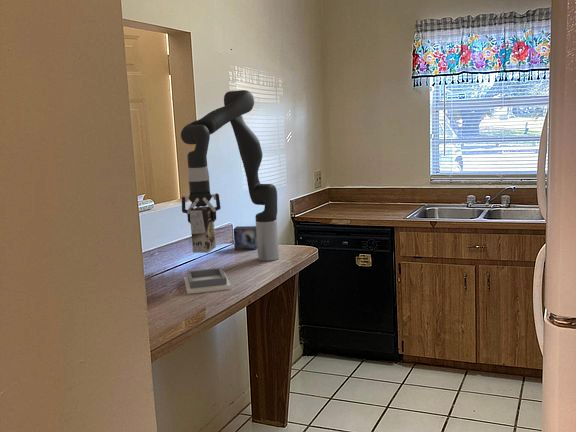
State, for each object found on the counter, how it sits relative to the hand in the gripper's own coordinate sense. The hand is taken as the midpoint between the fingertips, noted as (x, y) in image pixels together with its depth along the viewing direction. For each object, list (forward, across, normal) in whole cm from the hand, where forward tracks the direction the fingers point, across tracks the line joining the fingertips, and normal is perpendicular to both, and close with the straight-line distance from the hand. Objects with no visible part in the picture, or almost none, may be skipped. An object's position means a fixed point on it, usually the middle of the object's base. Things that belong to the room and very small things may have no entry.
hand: (202, 222), depth 225 cm
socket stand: (+24, 0, 0) cm, 24 cm away
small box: (+25, -24, -57) cm, 66 cm away
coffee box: (+11, 0, 0) cm, 11 cm away
